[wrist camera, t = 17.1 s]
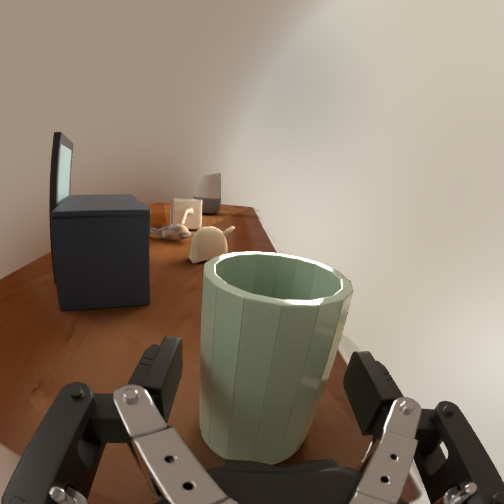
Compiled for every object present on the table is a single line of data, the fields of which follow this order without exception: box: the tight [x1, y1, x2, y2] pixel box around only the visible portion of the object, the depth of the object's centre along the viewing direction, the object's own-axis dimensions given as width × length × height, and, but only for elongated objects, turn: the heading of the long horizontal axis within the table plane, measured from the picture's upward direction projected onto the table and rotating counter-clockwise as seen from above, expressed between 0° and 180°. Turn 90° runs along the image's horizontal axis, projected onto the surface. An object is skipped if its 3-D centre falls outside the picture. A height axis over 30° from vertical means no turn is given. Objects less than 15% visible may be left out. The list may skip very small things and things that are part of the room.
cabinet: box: [51, 195, 151, 311], centre depth 31 cm, size 10×16×10 cm, turn 31°
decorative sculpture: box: [150, 199, 202, 240], centre depth 60 cm, size 16×10×7 cm, turn 1°
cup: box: [200, 252, 353, 465], centre depth 13 cm, size 6×6×10 cm
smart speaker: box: [194, 173, 221, 215], centre depth 93 cm, size 10×9×14 cm
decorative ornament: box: [188, 226, 235, 263], centre depth 46 cm, size 4×8×5 cm, turn 122°
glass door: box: [50, 132, 73, 284], centre depth 32 cm, size 1×16×18 cm, turn 30°
